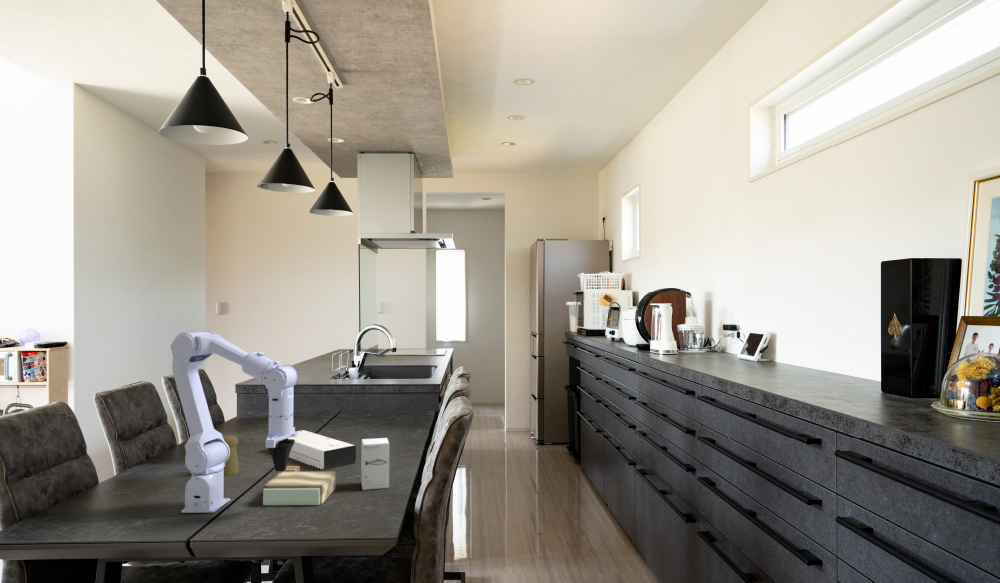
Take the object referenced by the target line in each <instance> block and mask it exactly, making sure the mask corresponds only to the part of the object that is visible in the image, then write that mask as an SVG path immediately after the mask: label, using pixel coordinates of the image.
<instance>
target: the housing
mask: <svg viewBox="0 0 1000 583" xmlns="http://www.w3.org/2000/svg"><path fill="white" fill-rule="evenodd" d="M336 472H337V471H333V470H331V471H325V470H322V471H321V470H320V471H300V472H281V471H279V472H278V473H277V474H276V475H274V477H273V478H271V479H270V480H268V481H267V482H266V483H265V484H263V486H262V488H263V490H264V489H276V488H320V504H324V502H325V501H326V500H327V499H328V498H329V496H330V495H331V494H332V493H333V492H334V491H335V489H336V474H337V473H336ZM263 490H262V491H263ZM320 504H319V505H320Z"/></svg>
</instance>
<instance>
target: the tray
mask: <svg viewBox="0 0 1000 583" xmlns="http://www.w3.org/2000/svg"><path fill="white" fill-rule="evenodd" d="M262 495H263V496H262V504H263V505H262V506H319V505H320V488H276V489H264V490H262Z"/></svg>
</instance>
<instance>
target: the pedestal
mask: <svg viewBox="0 0 1000 583" xmlns="http://www.w3.org/2000/svg"><path fill="white" fill-rule="evenodd" d="M300 470H301V469H300V466H299V465H287V467H286V470H285V471H280V472H301V471H300Z"/></svg>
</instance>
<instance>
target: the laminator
mask: <svg viewBox="0 0 1000 583" xmlns="http://www.w3.org/2000/svg"><path fill="white" fill-rule="evenodd" d="M295 432H298V435H297V436H296V437H290V438H288V439H294V440H295V443H294V445H293V446H292V449H291V451H290V454H289V458H290V459H293V460H295V461H298V462H301V463H303V464H306V465H309V466H311V465H312V466H311V467H313V466H315V467H314V468H316V467H317V469H319V468H320V470H321V469H323V470H322V471H325V470H328V468H330V469H333V468H332V467H334V468H338V467H337V466H339V467H343V466H347V464H348V465H351V463H353V464H355V463H357V462H356V460H357V446H356V445H355V444H353V443H352V444H351V443H350V442H349V443H348V442H345V441H342V440H337V439H335V438H331V437H328V436H324V435H322V434H318V433H316V432H315V433H314V432H311V431H308V430H304V429H301V430H297V431H296V430H295ZM342 465H343V466H342ZM324 469H325V470H324Z"/></svg>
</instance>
